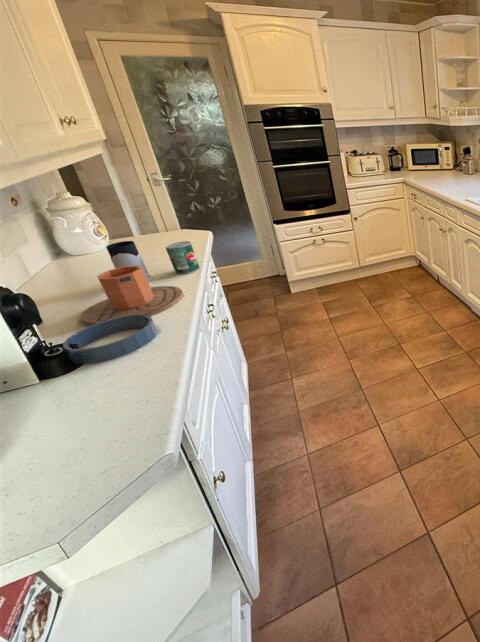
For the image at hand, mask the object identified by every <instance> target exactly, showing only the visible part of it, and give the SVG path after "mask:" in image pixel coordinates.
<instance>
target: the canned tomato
mask: <svg viewBox="0 0 480 642" xmlns="http://www.w3.org/2000/svg"><path fill="white" fill-rule="evenodd" d="M164 249H165V250H166V252H167V256H168V257H169V260H170V262H171V265H172V267H173V270H174V272H175V274H176V275H188V274H191V273H195V272H197V271H199V270H200V269H201V267H200V263H199V261H198V259H197V255H196V253H195V251H194V248H193V245H192V242H191V241H185V240H184V241H178V242H174V243H173V242H172V243H170V244H167V245H166V246H165V247H164Z"/></svg>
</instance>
